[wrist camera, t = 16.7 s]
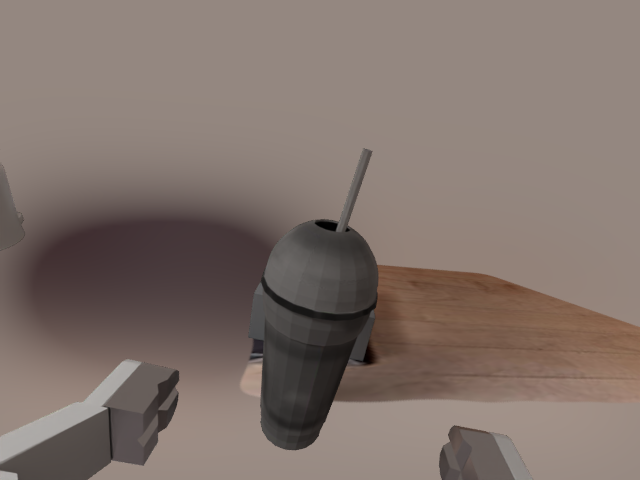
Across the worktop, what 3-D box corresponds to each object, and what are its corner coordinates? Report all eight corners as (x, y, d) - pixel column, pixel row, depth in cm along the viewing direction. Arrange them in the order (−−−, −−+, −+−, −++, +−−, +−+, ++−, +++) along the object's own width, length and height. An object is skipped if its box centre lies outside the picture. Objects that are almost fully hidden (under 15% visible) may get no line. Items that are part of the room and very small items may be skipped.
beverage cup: (293, 370, 29) (339, 139, 22) (358, 427, 24) (440, 162, 18) (220, 414, 23) (252, 125, 16) (288, 497, 19) (368, 154, 12)
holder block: (248, 337, 31) (254, 293, 30) (273, 284, 42) (278, 249, 41) (362, 361, 31) (375, 318, 30) (358, 301, 42) (367, 267, 40)
